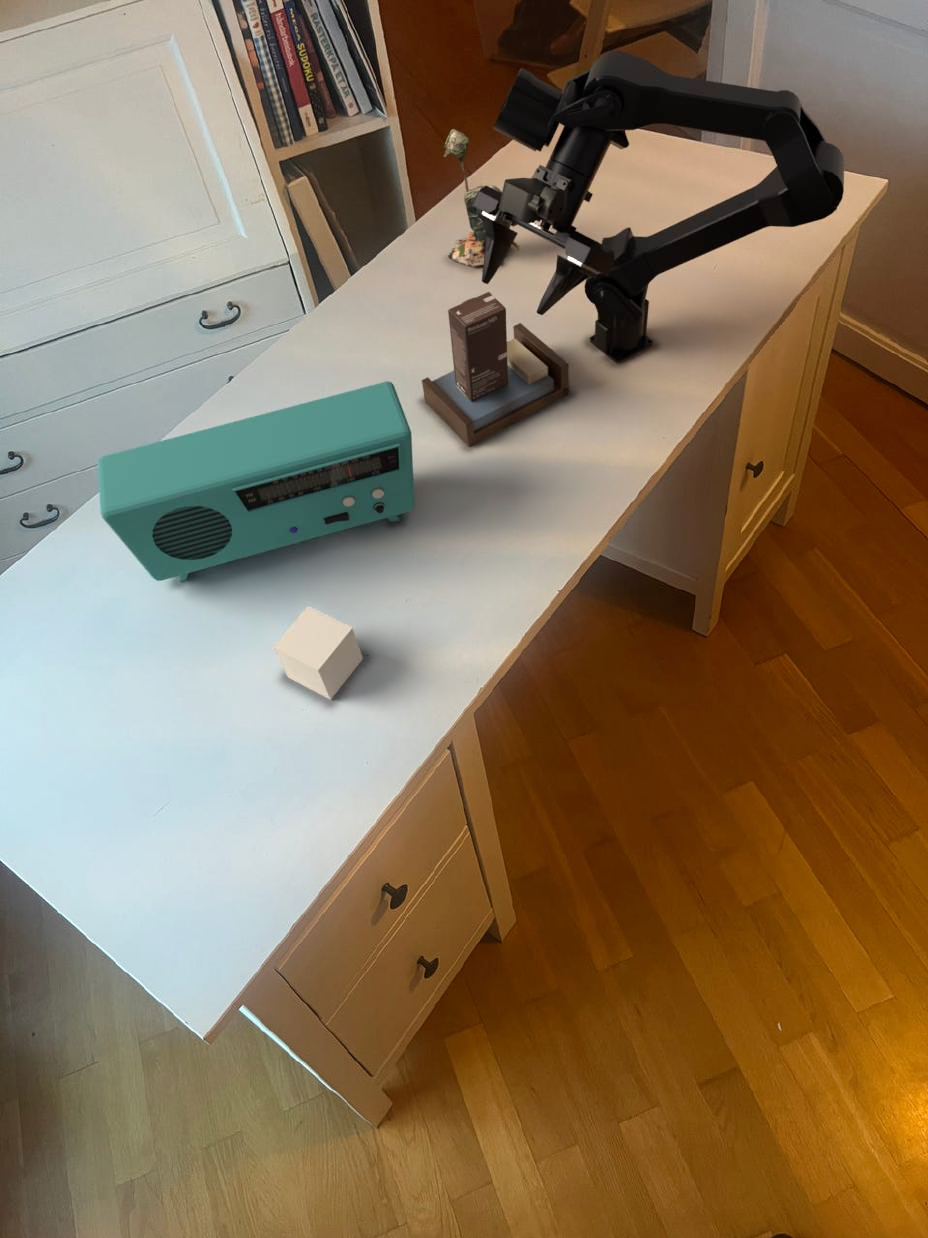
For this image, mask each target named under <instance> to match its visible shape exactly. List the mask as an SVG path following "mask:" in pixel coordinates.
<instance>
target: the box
mask: <svg viewBox="0 0 928 1238" xmlns="http://www.w3.org/2000/svg"><path fill="white" fill-rule="evenodd" d="M447 313H448V322H449V323H448V324H449V333H450V342H451V343H450V344H451V353H452V361H453V363H452V364H453V371H454V374H455V383H456V386H457V388H458V389H459V390H460V391H461V392H462V393H463V394H464V395H465V396H466V397H467V398H468V399H469V400H470V401H471V402H472V401H474V400H476V399H478V398H480V397H482V396H484V395H486V394H488V393H490V392H492V391H494V390H497V389H499V388H501V387H503V386H506V385H508V364H507V342H508V339H507V338H508V336H507V334H508V333H507V331H508V330H507V308H506V307H505V305H503V303H502V302H500V301H499V300H498V299H497V298H496V297H495V296H494V295H493V294H492V293H491V292H490V291H487V292H485V293H483V294H480V295H478V296H475V297H471V298H469V299H466V300H464V301H463V302H461V303H460V304H457V305H456V306H453V307H451V308H449V309H447Z"/></svg>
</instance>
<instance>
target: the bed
mask: <svg viewBox="0 0 928 1238" xmlns="http://www.w3.org/2000/svg"><path fill="white" fill-rule="evenodd" d="M512 328H513V329H512V330H513V339H510V340H509V341H508V340H507V364H508V385H506V386H503V387H501V388H499V389H497V390H494V391H492V392H490V393H488V394H486V395H484V396H482V397H480V398H478V399H476V400H474V401H472V402H471V401H470V400H469V399H468V398H467V397H466V396H465V395H464V394H463V393H462V392H461V391H460V390H459V389H458V388H457V386H456V383H455V374H454V370H452V371H450V372H448V373H446V374H444V375H441V376H440V377H437V378H435V379H433V380H431V379H430V377H429V376H428V377H425V378H423V379H421V384H422V391H423V396H424V403H425V404H426V405H427V406H428V407H429V408H430V409H431V410H432V411H433V412H434V413H435V414H436V415H437V417H439V418H440V419H441V420H442V421H443V423H445V424H446V425H447V427H449V428H450V429H451V430H452V432H453V433H455V435H456V436H457V437H458V438H459V439H460V440H461V441H462V442H463V443H464V444H465V445H466V446H467V448H470V447H472V446H474V445H475V444H477V443H480V442H481V441H483V440H485V439H487V438H489V437H491V436H492V435H495V434H497V433H499V432H500V431H503V430H504V429H507V428H508V427H510V426H512V425H514V424H515V423H517V422H519V421H521V420H523V419H525V418H527V417H529V416H531V415H532V414H535V413H538V412H539V411H540V410H543V409H544V408H546V407H549V406H550V405H552V404H554V403H555V402H558V401H560V400H562V399H563V398H565V397H568V396H569V376H570V375H569V373H570V372H569V371H570V369H569V363H568V362H567V361H566V360H565V359H564V358H562V357H561V356H560V355H559V354H558V353H557V352H556V351H554V350H553V349H552V348H551V347H549V345H548V344H546V343H545V342H543V340H541V339H540V338H539V337H538V336H537V335H535V334H534V333H533V332H532V331H531V330H530V329H528V328H527V327H526V326H524V324H523V323H521V322H519V323H517V324H515V325H514V326H513V327H512Z"/></svg>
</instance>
